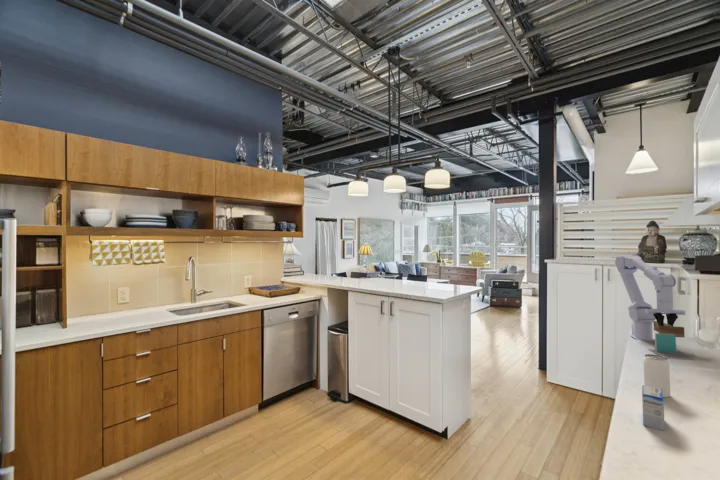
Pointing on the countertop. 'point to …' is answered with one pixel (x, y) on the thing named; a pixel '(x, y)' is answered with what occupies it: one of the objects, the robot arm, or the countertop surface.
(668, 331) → the wooden t-shaped piece
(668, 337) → the tile
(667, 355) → the mat
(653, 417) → the medicine box
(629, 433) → the countertop surface
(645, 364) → the can
